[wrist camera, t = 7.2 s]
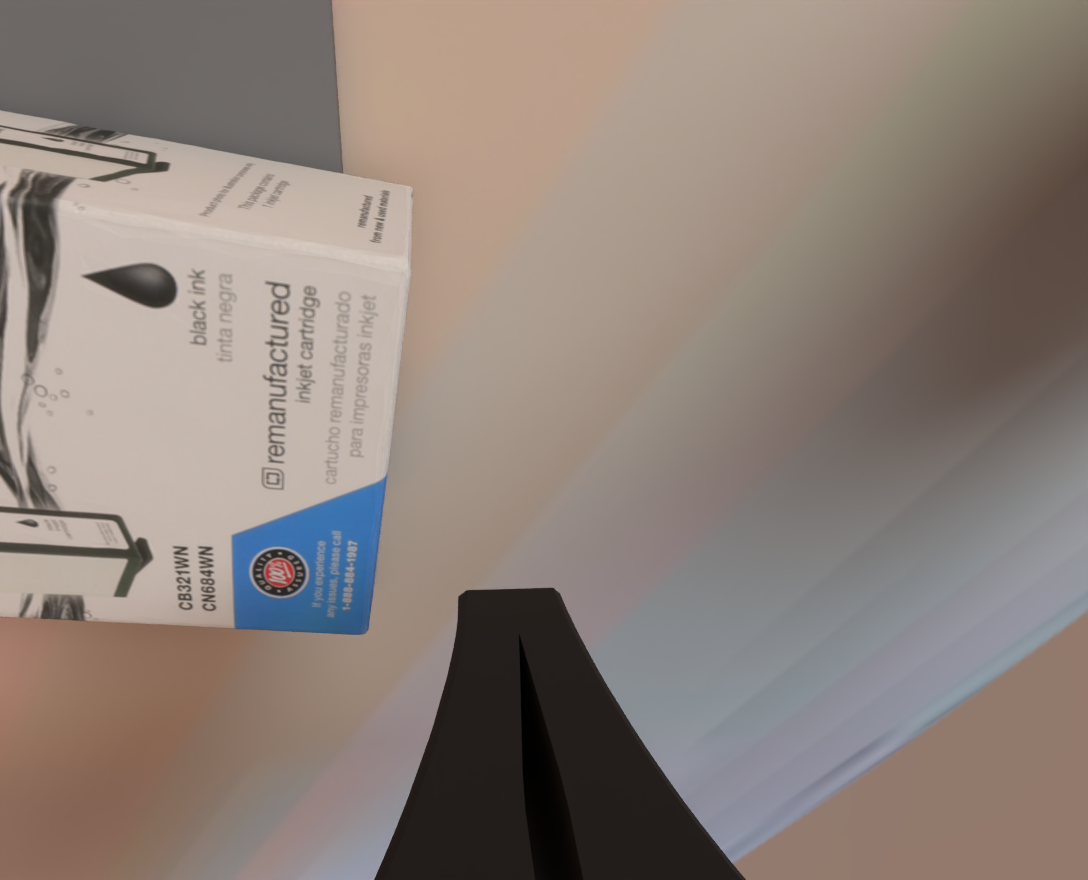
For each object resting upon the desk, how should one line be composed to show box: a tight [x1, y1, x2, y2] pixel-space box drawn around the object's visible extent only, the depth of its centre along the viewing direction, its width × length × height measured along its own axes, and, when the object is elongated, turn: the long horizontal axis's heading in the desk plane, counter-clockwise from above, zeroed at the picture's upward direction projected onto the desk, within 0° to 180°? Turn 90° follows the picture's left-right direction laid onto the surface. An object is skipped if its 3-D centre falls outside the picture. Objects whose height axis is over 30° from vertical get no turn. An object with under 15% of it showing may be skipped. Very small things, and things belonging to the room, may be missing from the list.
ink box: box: [0, 110, 413, 635], centre depth 13 cm, size 9×5×12 cm
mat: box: [0, 0, 343, 174], centre depth 16 cm, size 13×15×1 cm
